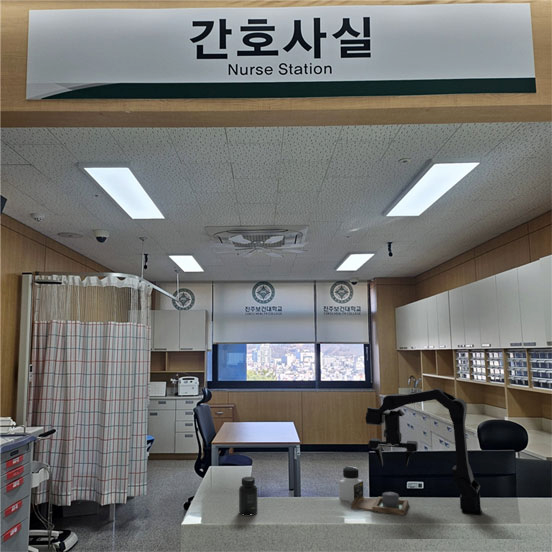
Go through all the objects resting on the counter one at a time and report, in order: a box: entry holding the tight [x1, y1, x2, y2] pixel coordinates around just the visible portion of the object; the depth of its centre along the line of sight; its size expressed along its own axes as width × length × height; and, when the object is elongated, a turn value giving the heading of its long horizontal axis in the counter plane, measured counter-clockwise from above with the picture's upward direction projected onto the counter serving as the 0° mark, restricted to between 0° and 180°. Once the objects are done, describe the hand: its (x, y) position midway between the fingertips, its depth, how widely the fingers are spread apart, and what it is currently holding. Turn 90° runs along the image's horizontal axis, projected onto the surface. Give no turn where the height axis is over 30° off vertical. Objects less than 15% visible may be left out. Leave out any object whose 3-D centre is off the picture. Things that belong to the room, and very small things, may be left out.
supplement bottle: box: [238, 476, 259, 516], centre depth 179 cm, size 7×7×12 cm
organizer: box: [350, 496, 409, 516], centre depth 183 cm, size 19×11×2 cm, turn 67°
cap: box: [381, 491, 400, 509], centre depth 182 cm, size 6×6×5 cm
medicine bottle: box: [338, 466, 365, 503], centre depth 193 cm, size 7×7×12 cm
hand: (393, 467), depth 192 cm, fingers open, 9 cm apart
